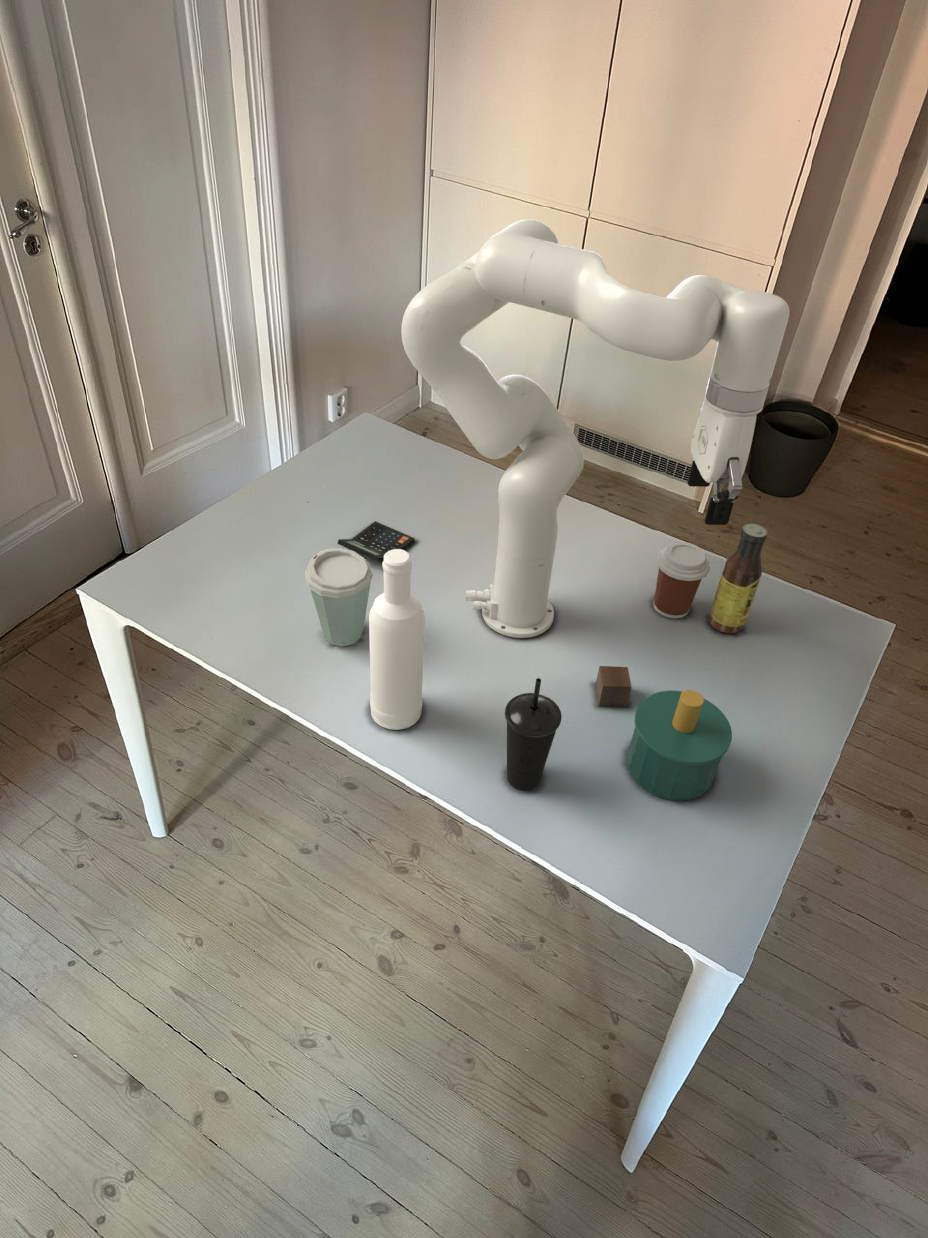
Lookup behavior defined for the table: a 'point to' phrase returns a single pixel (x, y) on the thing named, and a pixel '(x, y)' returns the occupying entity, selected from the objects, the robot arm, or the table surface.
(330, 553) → the disposable coffee cup
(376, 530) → the calculator
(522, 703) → the drinking cup
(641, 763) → the tin
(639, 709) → the tin lid
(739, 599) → the sauce bottle
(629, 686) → the block
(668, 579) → the coffee cup
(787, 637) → the table surface
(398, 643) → the bottle
